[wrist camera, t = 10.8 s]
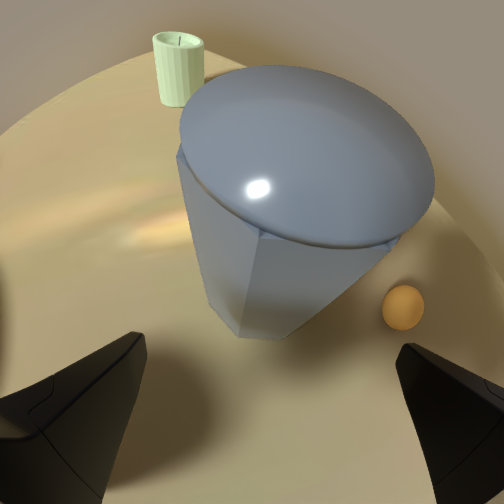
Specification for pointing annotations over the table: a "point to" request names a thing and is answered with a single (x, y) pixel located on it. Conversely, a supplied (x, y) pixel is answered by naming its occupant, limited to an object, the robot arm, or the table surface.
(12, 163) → the table surface
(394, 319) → the amber ball
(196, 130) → the grey faceted canister
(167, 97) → the candle
